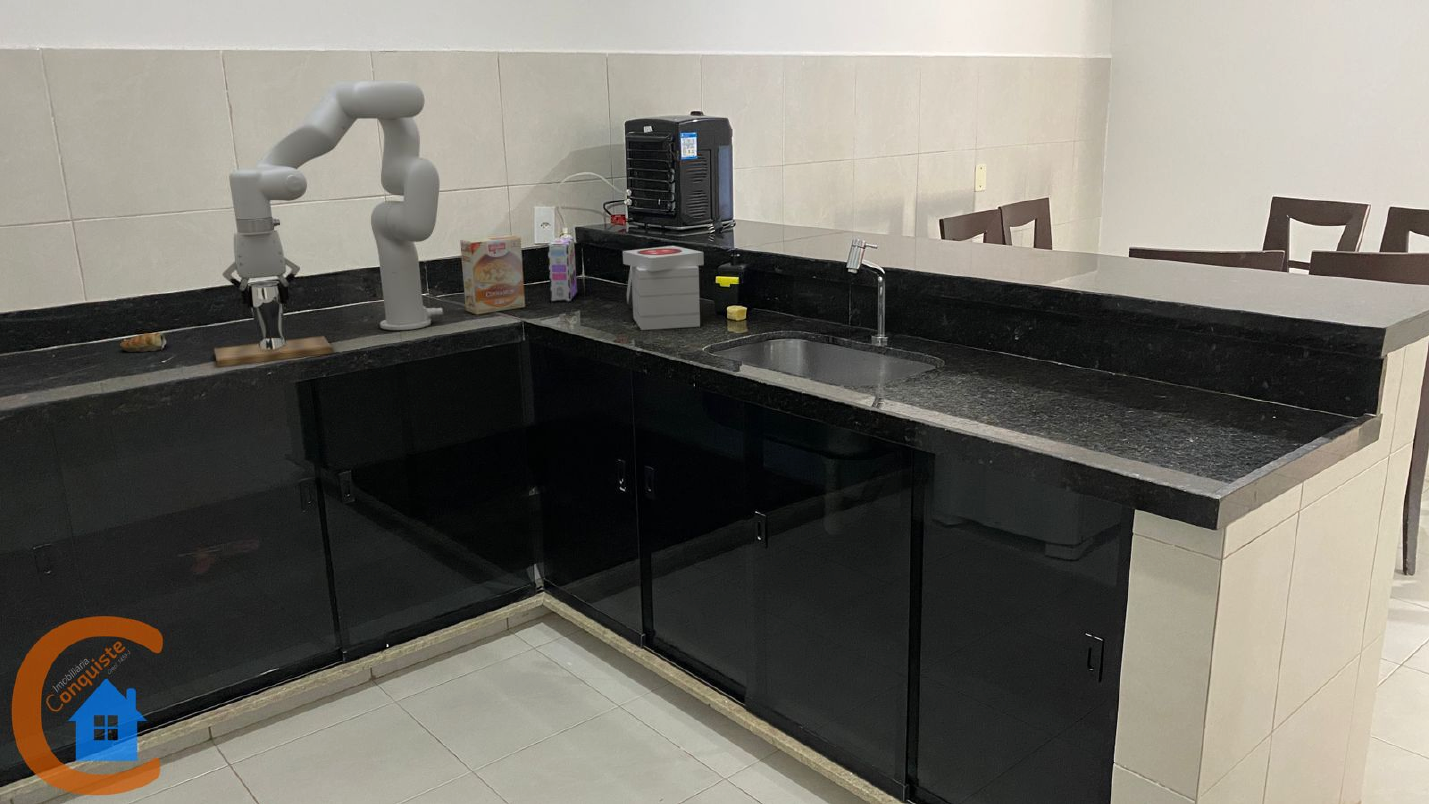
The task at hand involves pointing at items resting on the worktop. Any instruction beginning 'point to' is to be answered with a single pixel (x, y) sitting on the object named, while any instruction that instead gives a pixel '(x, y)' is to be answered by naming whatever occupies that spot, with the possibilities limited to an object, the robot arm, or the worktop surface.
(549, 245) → the candy box
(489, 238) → the coffeecake box
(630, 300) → the pizza boxes
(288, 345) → the serving board
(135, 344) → the pastry
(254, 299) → the beer glass
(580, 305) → the worktop surface
